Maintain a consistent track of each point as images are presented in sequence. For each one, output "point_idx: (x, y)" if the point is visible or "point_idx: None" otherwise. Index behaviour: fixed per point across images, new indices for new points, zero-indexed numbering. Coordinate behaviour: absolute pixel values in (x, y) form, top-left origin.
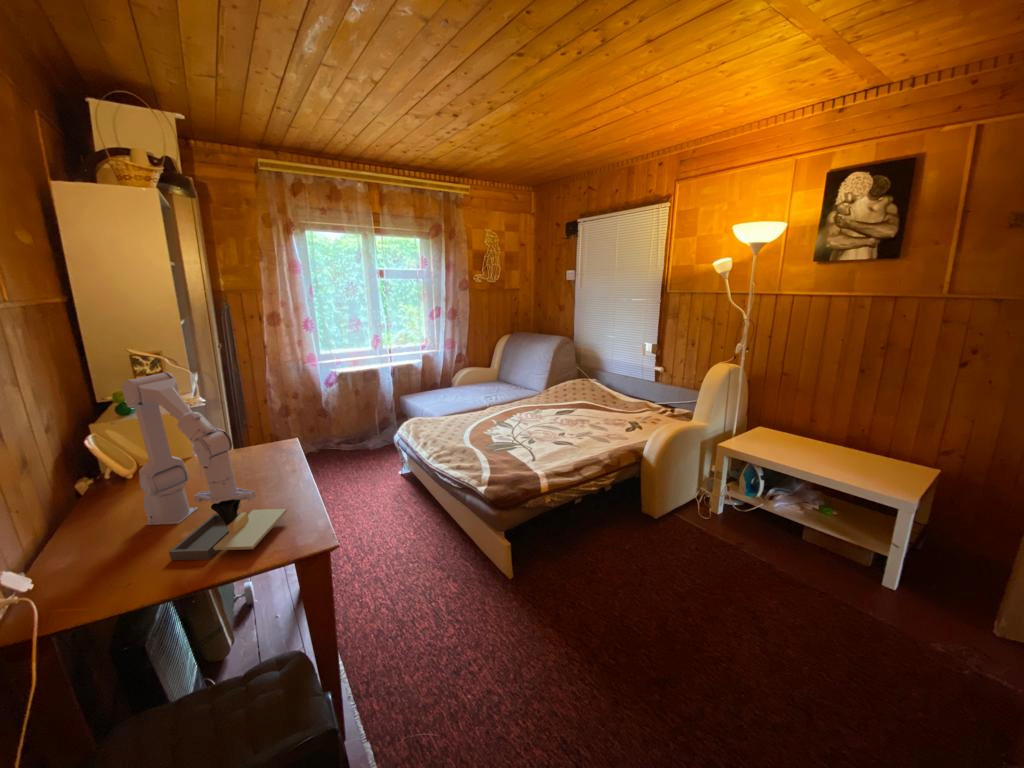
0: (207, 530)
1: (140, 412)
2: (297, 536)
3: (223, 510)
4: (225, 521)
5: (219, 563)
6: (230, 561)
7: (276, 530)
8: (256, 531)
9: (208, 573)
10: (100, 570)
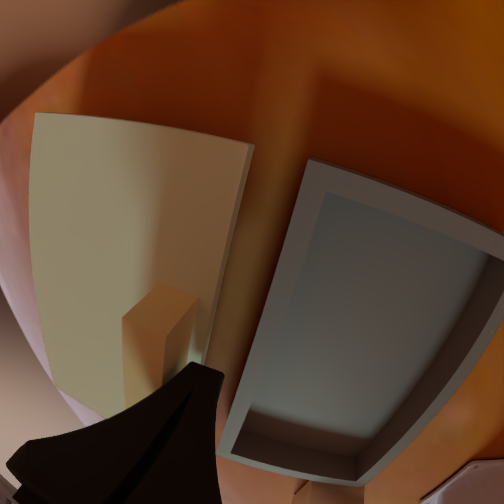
0: (385, 418)
1: None
2: (18, 234)
3: (115, 468)
4: (203, 396)
5: (240, 104)
6: (185, 109)
7: None
8: (62, 259)
9: (267, 30)
10: None
